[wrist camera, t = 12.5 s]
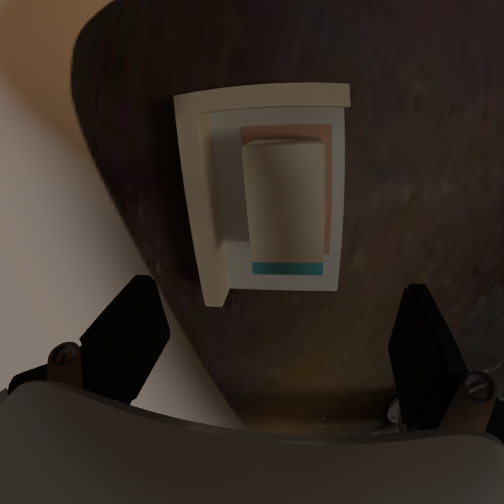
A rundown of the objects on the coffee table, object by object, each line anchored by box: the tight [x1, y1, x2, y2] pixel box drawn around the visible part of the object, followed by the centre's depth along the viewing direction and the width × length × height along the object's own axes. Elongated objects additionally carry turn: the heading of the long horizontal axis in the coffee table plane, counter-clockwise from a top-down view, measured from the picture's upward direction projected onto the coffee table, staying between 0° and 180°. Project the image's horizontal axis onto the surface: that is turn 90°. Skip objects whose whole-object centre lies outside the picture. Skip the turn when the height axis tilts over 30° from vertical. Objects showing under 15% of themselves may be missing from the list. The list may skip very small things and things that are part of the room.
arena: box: [174, 83, 350, 307], centre depth 22 cm, size 18×12×4 cm, turn 4°
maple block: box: [241, 138, 325, 275], centre depth 20 cm, size 5×9×5 cm, turn 4°
